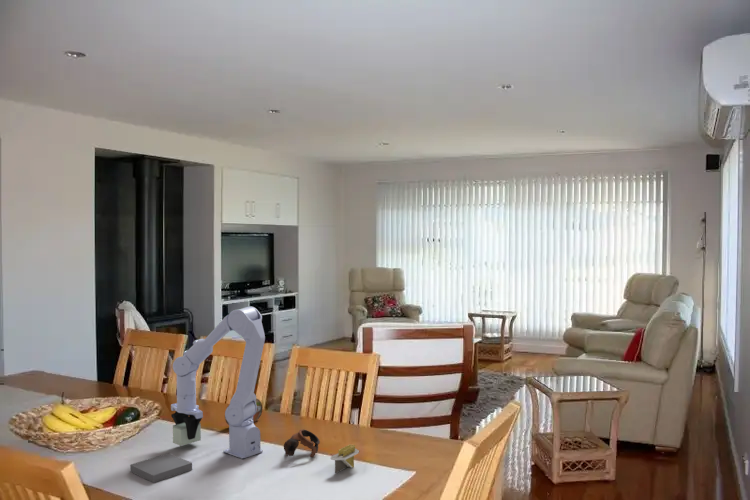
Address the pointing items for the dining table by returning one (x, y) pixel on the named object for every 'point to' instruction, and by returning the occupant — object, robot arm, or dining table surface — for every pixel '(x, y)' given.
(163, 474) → the stand
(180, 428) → the block
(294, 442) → the brown curved band
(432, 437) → the dining table surface
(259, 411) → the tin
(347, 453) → the platform
